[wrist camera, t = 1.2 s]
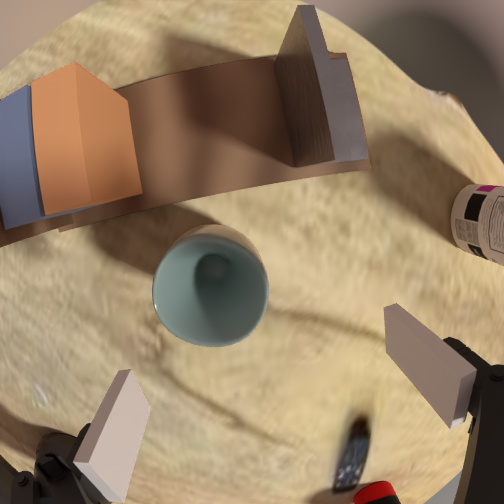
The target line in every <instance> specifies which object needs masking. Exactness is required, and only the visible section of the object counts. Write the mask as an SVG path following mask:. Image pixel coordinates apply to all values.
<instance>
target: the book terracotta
mask: <svg viewBox="0 0 504 504" xmlns="http://www.w3.org/2000/svg"><path fill="white" fill-rule="evenodd" d="M31 92H32V118H33V132H34V143H35V153H36V161H37V169H38V176H39V182H40V188H41V194H42V200H43V205H44V210H45V215H50V214H55V213H59V212H64V211H68V210H73V209H78V208H83V207H88V206H93V205H98V204H103V203H108V202H112V201H116V200H119V199H123V198H127V197H131V196H135V195H139V194H143V192H142V186H141V181H140V176H139V171H138V165H137V159H136V154H135V148H134V141H133V135H132V129H131V122H130V115H129V107H128V101H127V100H126V99H125V98H123V97H122V96H121V95H119V94H118V93H117V92H116V91H114V90H113V89H112V88H110V87H109V86H108V85H106V84H105V83H104V82H102V81H101V80H100V79H98V78H97V77H96V76H94V75H93V74H92V73H90V72H89V71H87V70H86V69H85V68H83V67H82V66H81V65H79V64H78V63H77V62H73V63H71V64H69V65H67V66H64V67H62V68H60V69H58V70H56V71H54V72H52V73H49V74H47V75H45V76H43V77H41V78H39V79H38V80H36V81H34V82H32V83H31Z"/></svg>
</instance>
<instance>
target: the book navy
mask: <svg viewBox="0 0 504 504" xmlns="http://www.w3.org/2000/svg"><path fill="white" fill-rule="evenodd" d="M103 204H105V203H103ZM98 205H101V204H98ZM98 205H93V206H88V207H83V208H78V209H73V210H68V211H64V212H59V213H55V214H50V215H45V210H44V205H43V200H42V194H41V188H40V182H39V176H38V169H37V161H36V153H35V143H34V132H33V118H32V92H31V87H30V86H28V85H26V86H24V87H23V88H21V89H19V90H17V91H16V92H14V93H12V94H10V95H9V96H7V97H5V98H4V99H2V100H1V101H0V206H1V212H2V217H3V222H4V227H5V230H7V229H10V228H14V227H18V226H21V225H25V224H29V223H33V222H37V221H40V220H44V219H48V218H52V217H57V216H61V215H65V214H69V213H73V212H77V211H80V210H84V209H87V208H91V207H94V206H98Z"/></svg>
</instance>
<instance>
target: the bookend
mask: <svg viewBox="0 0 504 504" xmlns="http://www.w3.org/2000/svg"><path fill="white" fill-rule="evenodd" d="M274 68H275V72H276V77H277V81H278V86H279V90H280V95H281V100H282V104H283V109H284V114H285V119H286V124H287V129H288V134H289V139H290V144H291V149H292V155H293V160H294V165H295V168H302V167H308V166H315V165H322V164H330V163H337V162H345V161H353V160H362V159H368V154H367V148H366V143H365V137H364V132H363V127H362V122H361V118H360V113H359V108H358V104H357V99H356V95H355V91H354V87H353V83H352V79H351V75H350V71H349V67H348V64H347V60H346V59H330V57H329V53H328V49H327V46H326V42H325V39H324V36H323V32H322V29H321V26H320V23H319V19H318V16H317V13H316V10H315V7H314V5H298V6H297V8H296V11H295V13H294V16H293V18H292V20H291V23H290V25H289V28H288V30H287V33H286V35H285V38H284V40H283V43H282V45H281V48H280V50H279V53H278V55H277V58H276V61H275V63H274Z"/></svg>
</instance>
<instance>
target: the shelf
mask: <svg viewBox="0 0 504 504" xmlns="http://www.w3.org/2000/svg"><path fill="white" fill-rule="evenodd" d="M329 57H330V59H346V60H347V64H348V67H349V71H350V75H351V79H352V83H353V87H354V91H355V95H356V99H357V104H358V108H359V113H360V118H361V122H362V127H363V132H364V137H365V143H366V148H367V154H368V159H362V160H353V161H345V162H337V163H330V164H322V165H315V166H308V167H302V168H295V165H294V160H293V155H292V149H291V144H290V139H289V134H288V129H287V124H286V119H285V114H284V109H283V104H282V100H281V95H280V90H279V86H278V81H277V77H276V72H275V68H274V63H275V61H276V58H277V56H273V57H264V58H255V59H248V60H241V61H234V62H228V63H222V64H216V65H211V66H205V67H200V68H196V69H191V70H186V71H182V72H178V73H174V74H170V75H166V76H162V77H158V78H154V79H151V80H147V81H143V82H140V83H137V84H133V85H130V86H127V87H124V88H121V89H118V90H115V91H116V92H117V93H118V94H119V95H121V96H122V97H123V98H125V99H126V100H127V101H128V107H129V115H130V122H131V129H132V135H133V141H134V148H135V154H136V159H137V165H138V171H139V176H140V181H141V186H142V192H143V194H139V195H135V196H131V197H127V198H123V199H119V200H116V201H112V202H108V203H105V204H101V205H98V206H94V207H91V208H87V209H84V210H80V211H77V212H73V213H69V214H65V215H61V216H57V217H52V218H48V219H44V220H40V221H37V222H33V223H29V224H25V225H21V226H18V227H14V228H10V229H7V230H5V227H4V222H3V217H2V212H1V206H0V247H3V246H6V245H8V244H11V243H14V242H17V241H20V240H23V239H26V238H29V237H32V236H35V235H38V234H41V233H44V232H47V231H50V230H53V229H56V228H58V229H59V233H60V232H63V231H67V230H70V229H74V228H77V227H81V226H84V225H88V224H92V223H95V222H99V221H103V220H107V219H111V218H114V217H118V216H122V215H126V214H130V213H134V212H138V211H142V210H147V209H151V208H155V207H159V206H164V205H168V204H173V203H177V202H182V201H186V200H191V199H195V198H200V197H205V196H210V195H215V194H220V193H225V192H230V191H235V190H240V189H245V188H251V187H256V186H262V185H267V184H273V183H279V182H285V181H291V180H297V179H303V178H310V177H316V176H323V175H330V174H337V173H344V172H351V171H359V170H367V169H371V163H370V157H369V151H368V145H367V140H366V135H365V129H364V124H363V120H362V115H361V110H360V106H359V101H358V97H357V93H356V89H355V85H354V81H353V77H352V73H351V69H350V65H349V62H348V58H347V55H346V53H329ZM0 101H1V99H0Z"/></svg>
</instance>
